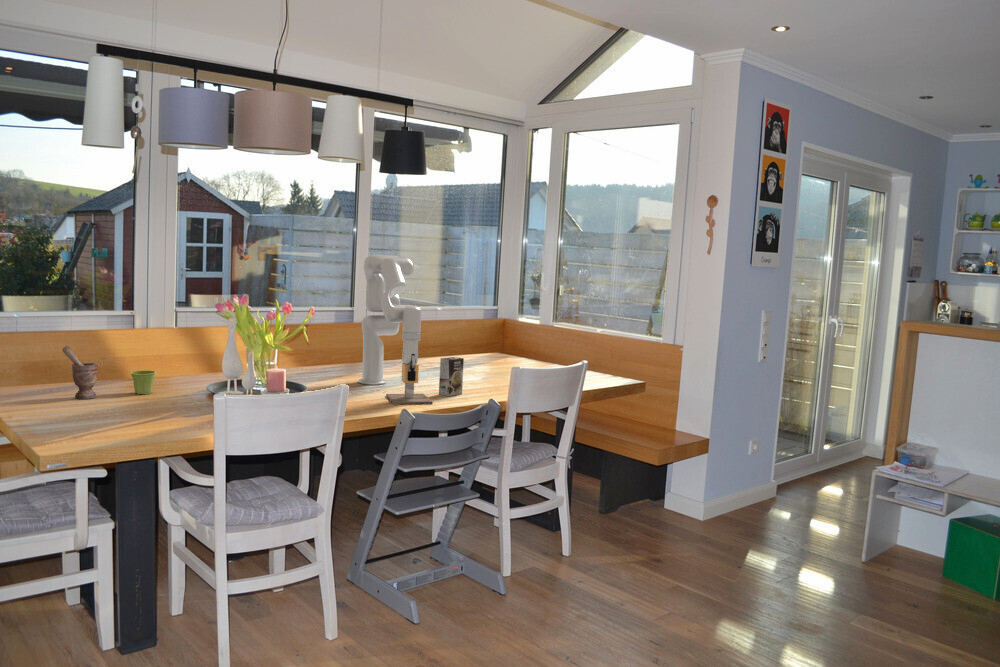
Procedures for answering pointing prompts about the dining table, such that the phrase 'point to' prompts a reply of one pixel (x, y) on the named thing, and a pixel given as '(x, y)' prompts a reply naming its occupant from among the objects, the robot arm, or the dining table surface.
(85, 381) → the mortar and pestle
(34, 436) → the dining table surface
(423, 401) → the post board
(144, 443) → the dining table surface
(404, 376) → the light brown block
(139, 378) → the plant pot
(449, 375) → the coffee box
